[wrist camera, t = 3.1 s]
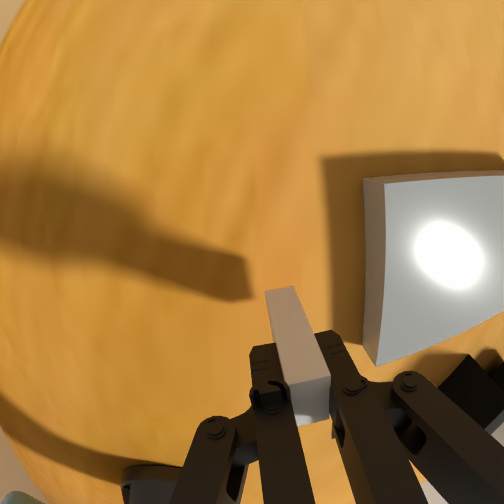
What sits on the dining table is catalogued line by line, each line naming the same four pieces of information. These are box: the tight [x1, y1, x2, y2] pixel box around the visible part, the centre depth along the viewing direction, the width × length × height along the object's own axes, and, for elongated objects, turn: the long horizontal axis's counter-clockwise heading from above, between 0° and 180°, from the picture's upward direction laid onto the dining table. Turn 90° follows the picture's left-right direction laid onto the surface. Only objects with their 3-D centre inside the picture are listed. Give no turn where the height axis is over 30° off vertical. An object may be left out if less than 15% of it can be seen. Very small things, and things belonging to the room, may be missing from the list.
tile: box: [362, 170, 504, 367], centre depth 16 cm, size 16×12×3 cm
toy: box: [438, 355, 504, 435], centre depth 24 cm, size 16×9×30 cm
